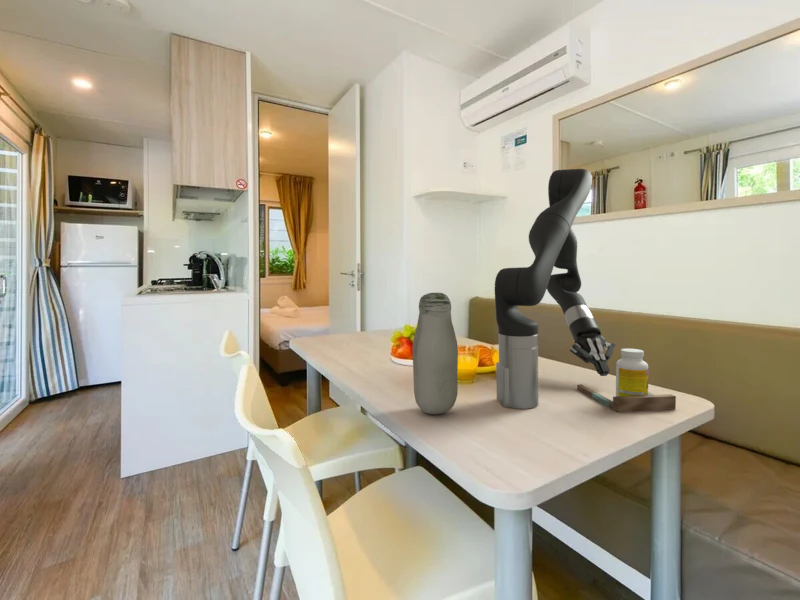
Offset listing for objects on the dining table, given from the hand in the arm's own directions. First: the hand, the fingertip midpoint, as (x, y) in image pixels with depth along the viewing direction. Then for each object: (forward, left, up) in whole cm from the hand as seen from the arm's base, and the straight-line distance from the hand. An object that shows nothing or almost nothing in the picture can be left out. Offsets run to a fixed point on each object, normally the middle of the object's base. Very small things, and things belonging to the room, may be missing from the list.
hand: (605, 374), depth 103 cm
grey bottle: (-48, -12, -4) cm, 49 cm away
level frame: (0, -8, -4) cm, 9 cm away
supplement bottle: (0, -11, -4) cm, 12 cm away
